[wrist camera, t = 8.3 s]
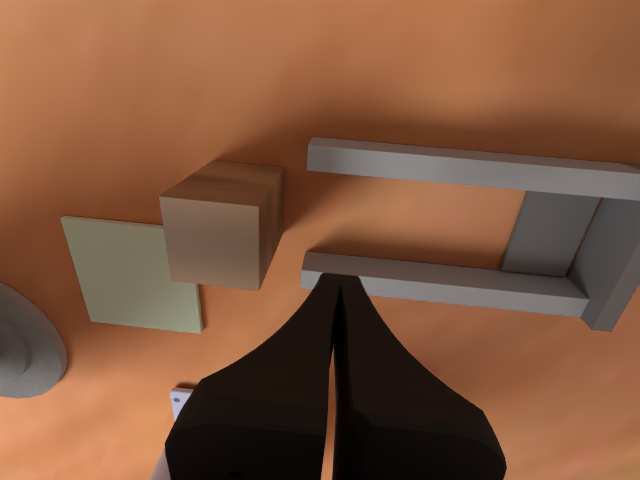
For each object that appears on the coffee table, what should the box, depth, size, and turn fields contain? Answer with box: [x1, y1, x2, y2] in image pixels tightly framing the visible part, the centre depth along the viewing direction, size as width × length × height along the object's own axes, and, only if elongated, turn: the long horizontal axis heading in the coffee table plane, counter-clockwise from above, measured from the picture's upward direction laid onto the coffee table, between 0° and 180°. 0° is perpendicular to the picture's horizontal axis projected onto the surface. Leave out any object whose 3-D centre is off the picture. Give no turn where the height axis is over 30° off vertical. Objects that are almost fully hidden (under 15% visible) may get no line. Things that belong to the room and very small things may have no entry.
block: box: [159, 160, 285, 291], centre depth 17 cm, size 4×4×6 cm
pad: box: [60, 216, 203, 334], centre depth 23 cm, size 8×8×1 cm
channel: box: [300, 137, 640, 332], centre depth 18 cm, size 8×16×3 cm, turn 86°
